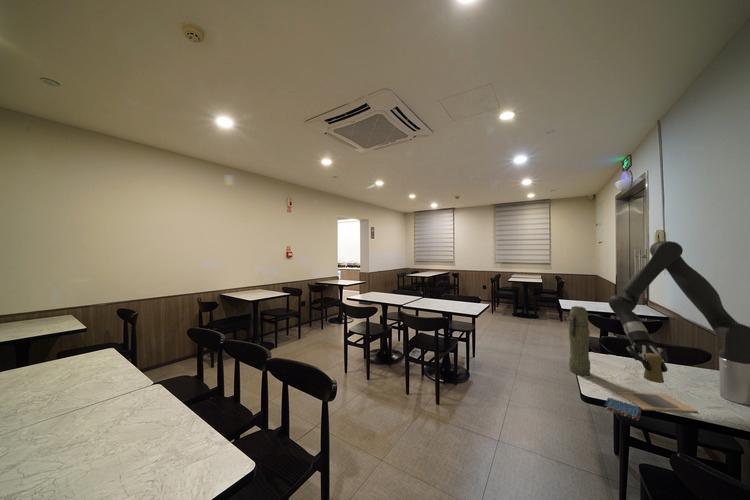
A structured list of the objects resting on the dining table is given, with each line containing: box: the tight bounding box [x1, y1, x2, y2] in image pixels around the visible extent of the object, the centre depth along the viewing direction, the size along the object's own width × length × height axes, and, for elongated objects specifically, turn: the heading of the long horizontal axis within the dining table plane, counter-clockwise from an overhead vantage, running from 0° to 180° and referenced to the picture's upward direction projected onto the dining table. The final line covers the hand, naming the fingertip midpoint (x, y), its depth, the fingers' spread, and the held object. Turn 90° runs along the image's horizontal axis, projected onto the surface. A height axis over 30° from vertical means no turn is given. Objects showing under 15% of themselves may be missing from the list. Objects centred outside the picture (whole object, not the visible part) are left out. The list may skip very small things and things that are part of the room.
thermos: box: [568, 305, 591, 377], centre depth 140 cm, size 9×12×35 cm
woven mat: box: [603, 397, 642, 421], centre depth 107 cm, size 10×11×2 cm
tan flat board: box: [616, 391, 699, 413], centre depth 112 cm, size 20×13×1 cm, turn 84°
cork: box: [643, 353, 665, 384], centre depth 112 cm, size 6×6×11 cm
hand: (657, 370), depth 110 cm, fingers closed on cork, 4 cm apart
